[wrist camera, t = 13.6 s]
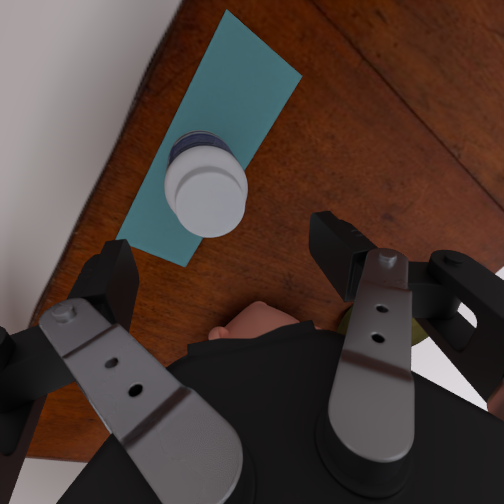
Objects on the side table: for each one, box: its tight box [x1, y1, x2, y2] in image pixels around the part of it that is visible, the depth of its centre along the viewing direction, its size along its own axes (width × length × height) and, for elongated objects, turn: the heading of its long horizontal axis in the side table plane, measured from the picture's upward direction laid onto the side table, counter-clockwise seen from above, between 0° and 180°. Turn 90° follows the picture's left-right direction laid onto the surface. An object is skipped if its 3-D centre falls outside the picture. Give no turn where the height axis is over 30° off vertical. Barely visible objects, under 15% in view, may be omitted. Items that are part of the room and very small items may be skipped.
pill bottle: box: [164, 130, 248, 237], centre depth 20 cm, size 5×5×10 cm
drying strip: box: [115, 9, 302, 267], centre depth 24 cm, size 20×7×1 cm, turn 146°
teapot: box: [208, 301, 323, 340], centre depth 32 cm, size 15×17×13 cm
